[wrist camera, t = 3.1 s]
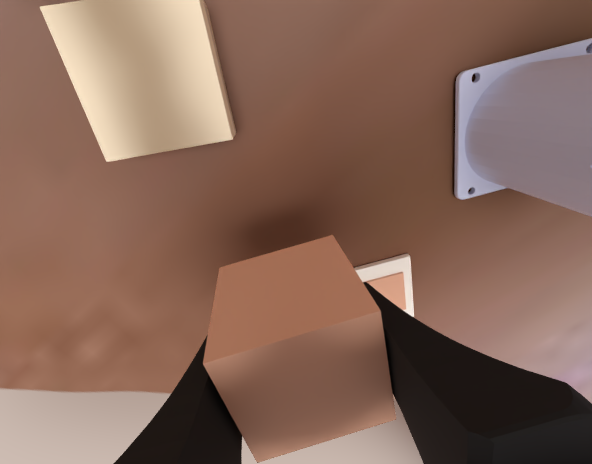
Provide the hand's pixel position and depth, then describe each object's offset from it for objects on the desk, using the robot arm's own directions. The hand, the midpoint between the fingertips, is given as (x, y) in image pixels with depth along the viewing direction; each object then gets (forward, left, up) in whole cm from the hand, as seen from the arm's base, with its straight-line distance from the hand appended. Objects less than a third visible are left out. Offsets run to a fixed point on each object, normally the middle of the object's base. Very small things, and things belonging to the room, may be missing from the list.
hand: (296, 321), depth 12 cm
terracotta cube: (0, 0, -2) cm, 2 cm away
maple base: (+4, -10, -9) cm, 14 cm away
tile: (-6, +7, -9) cm, 13 cm away
